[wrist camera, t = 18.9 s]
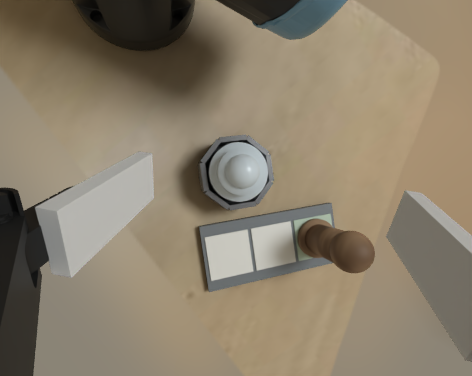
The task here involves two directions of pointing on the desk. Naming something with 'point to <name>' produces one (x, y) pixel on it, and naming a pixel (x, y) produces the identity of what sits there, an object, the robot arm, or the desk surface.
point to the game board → (258, 246)
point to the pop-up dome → (238, 172)
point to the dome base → (206, 183)
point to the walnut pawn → (336, 245)
